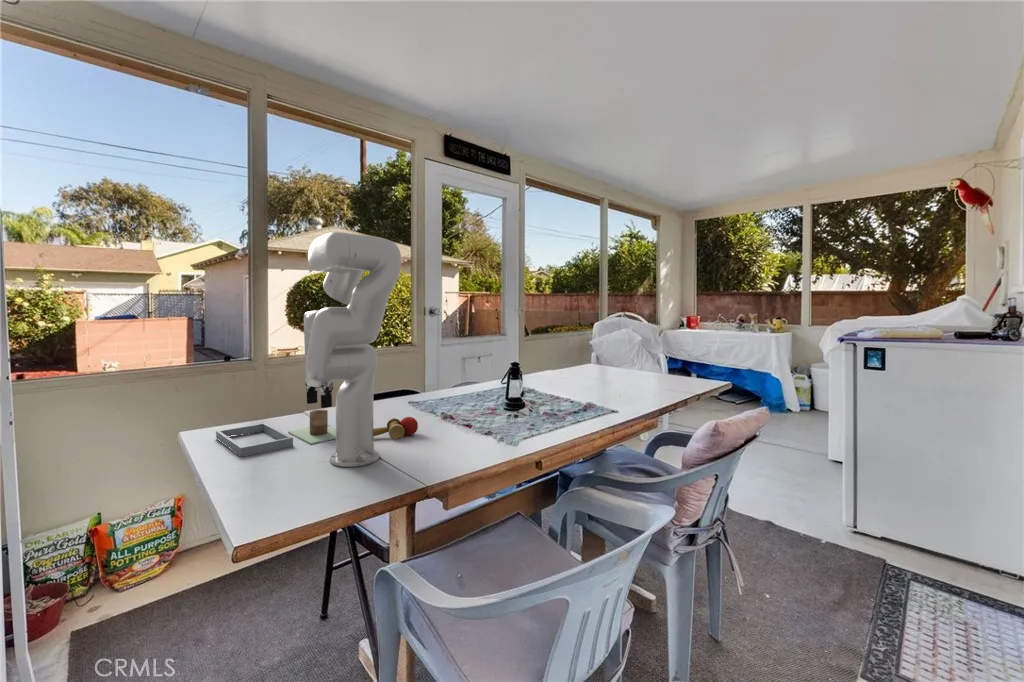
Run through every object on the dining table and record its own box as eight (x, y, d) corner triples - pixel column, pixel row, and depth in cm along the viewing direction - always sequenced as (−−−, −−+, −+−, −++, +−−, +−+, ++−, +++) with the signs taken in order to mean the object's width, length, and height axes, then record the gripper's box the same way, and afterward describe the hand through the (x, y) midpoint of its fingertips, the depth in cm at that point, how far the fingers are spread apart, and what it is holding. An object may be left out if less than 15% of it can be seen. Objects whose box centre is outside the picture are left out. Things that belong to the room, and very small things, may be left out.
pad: (348, 436, 141) (348, 434, 141) (310, 444, 132) (310, 442, 132) (325, 425, 152) (325, 424, 151) (288, 433, 143) (288, 431, 143)
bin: (293, 446, 130) (292, 437, 130) (240, 457, 120) (240, 448, 120) (264, 430, 145) (264, 422, 144) (216, 439, 134) (216, 431, 134)
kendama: (362, 448, 134) (421, 434, 141) (359, 427, 134) (418, 414, 141) (360, 445, 141) (417, 432, 148) (357, 425, 141) (413, 413, 149)
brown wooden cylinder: (330, 433, 142) (330, 411, 141) (314, 436, 138) (314, 414, 137) (322, 429, 145) (323, 408, 145) (306, 432, 141) (306, 411, 141)
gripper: (343, 351, 136) (344, 407, 137) (317, 348, 148) (318, 400, 149) (318, 353, 131) (320, 411, 132) (293, 350, 142) (295, 403, 143)
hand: (319, 405), depth 140 cm, fingers open, 9 cm apart
